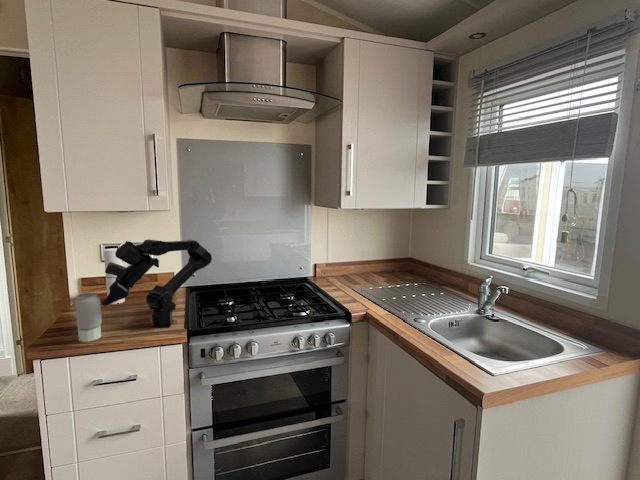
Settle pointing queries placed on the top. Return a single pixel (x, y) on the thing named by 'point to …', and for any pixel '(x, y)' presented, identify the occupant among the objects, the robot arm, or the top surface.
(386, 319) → the top surface
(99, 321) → the can
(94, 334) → the bowl
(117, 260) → the cylindrical container
